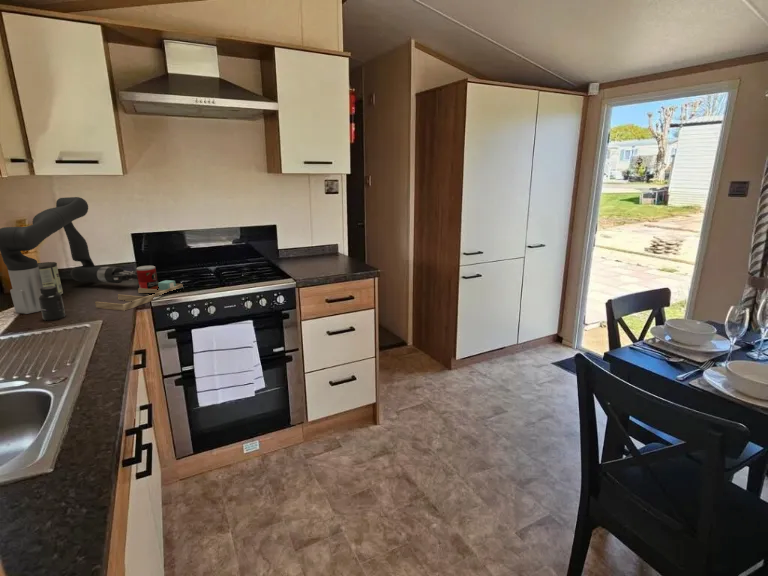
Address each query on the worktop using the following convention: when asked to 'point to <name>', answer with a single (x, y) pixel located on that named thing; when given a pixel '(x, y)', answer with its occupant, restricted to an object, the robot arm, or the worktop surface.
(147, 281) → the canned food
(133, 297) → the bay rack
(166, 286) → the plain green block
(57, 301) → the supplement bottle
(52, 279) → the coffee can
